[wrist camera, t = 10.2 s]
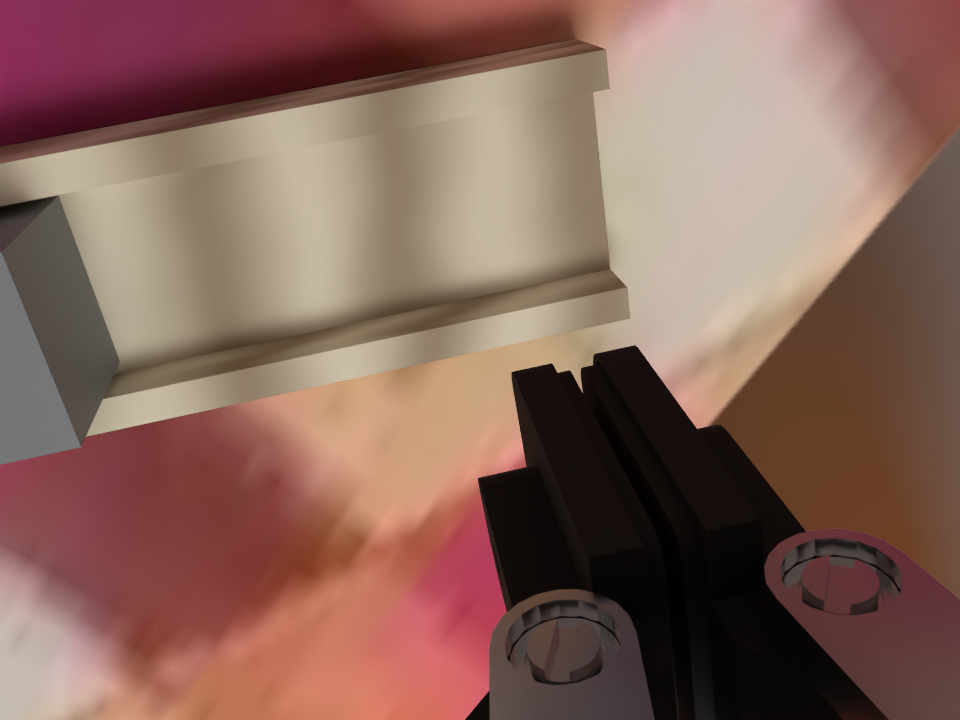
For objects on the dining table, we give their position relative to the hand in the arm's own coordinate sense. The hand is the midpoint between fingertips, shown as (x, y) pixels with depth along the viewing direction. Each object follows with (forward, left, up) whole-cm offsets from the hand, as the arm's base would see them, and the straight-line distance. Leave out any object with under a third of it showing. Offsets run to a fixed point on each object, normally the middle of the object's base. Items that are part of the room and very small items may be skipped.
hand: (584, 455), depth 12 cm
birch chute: (+7, +2, -22) cm, 23 cm away
